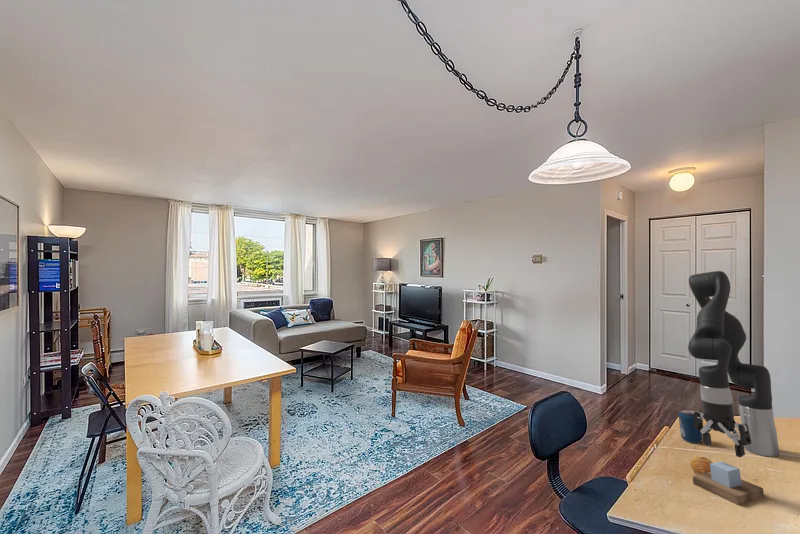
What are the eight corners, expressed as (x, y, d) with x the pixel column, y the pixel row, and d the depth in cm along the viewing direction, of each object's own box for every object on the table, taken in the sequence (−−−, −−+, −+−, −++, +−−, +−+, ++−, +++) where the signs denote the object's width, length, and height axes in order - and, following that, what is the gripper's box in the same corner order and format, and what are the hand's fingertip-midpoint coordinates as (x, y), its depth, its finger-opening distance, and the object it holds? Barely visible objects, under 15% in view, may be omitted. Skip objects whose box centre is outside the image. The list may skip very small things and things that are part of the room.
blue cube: (723, 476, 111) (721, 461, 111) (741, 485, 106) (739, 468, 107) (711, 479, 110) (709, 463, 110) (729, 488, 105) (727, 471, 105)
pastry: (715, 481, 113) (713, 469, 114) (689, 474, 118) (687, 463, 118) (716, 469, 120) (714, 458, 120) (691, 463, 125) (690, 453, 125)
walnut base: (718, 478, 115) (717, 469, 116) (764, 498, 104) (762, 488, 104) (693, 485, 112) (692, 476, 112) (738, 507, 100) (736, 496, 101)
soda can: (706, 441, 140) (702, 412, 141) (696, 445, 138) (693, 415, 139) (687, 435, 147) (683, 407, 148) (677, 439, 144) (674, 410, 145)
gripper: (751, 404, 104) (759, 458, 103) (700, 392, 118) (706, 439, 117) (735, 408, 102) (743, 463, 101) (684, 395, 116) (690, 443, 115)
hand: (723, 450), depth 109 cm, fingers open, 8 cm apart
